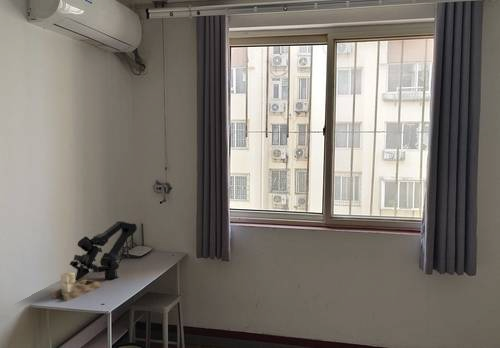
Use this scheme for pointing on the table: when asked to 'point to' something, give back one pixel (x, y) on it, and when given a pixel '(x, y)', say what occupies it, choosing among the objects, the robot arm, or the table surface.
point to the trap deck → (76, 290)
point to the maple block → (68, 282)
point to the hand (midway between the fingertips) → (76, 280)
